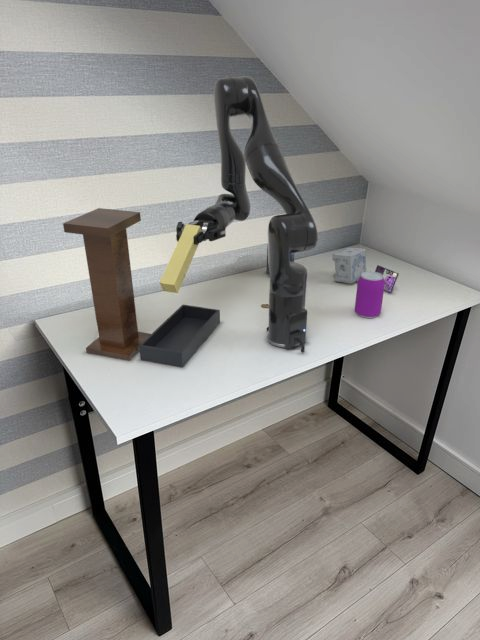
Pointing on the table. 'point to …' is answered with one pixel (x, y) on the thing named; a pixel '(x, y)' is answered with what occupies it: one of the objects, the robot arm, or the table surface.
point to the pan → (180, 336)
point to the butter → (180, 260)
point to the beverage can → (369, 294)
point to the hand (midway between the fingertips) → (186, 239)
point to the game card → (388, 277)
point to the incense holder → (349, 265)
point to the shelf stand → (110, 280)
